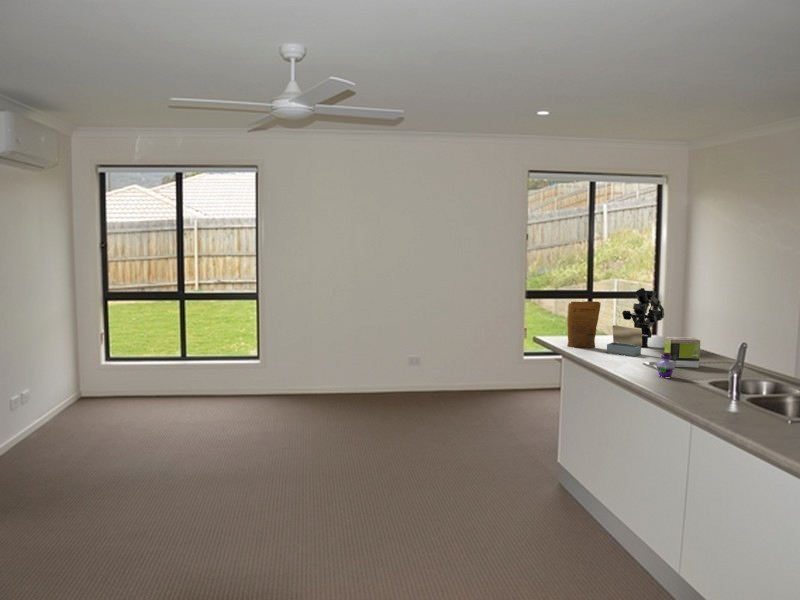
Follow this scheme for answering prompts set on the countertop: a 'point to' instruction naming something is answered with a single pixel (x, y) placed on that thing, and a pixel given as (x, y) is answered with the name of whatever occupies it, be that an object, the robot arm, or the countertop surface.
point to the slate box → (624, 349)
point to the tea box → (683, 351)
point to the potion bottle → (665, 365)
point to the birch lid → (627, 335)
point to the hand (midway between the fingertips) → (634, 327)
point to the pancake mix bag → (582, 323)
